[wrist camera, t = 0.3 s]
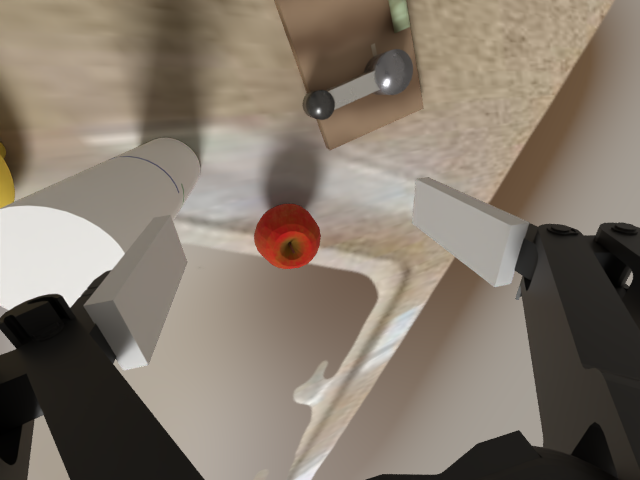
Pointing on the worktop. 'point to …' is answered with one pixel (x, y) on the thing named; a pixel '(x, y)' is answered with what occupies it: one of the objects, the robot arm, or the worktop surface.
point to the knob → (363, 84)
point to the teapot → (5, 181)
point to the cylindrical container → (90, 220)
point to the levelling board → (350, 58)
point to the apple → (287, 236)
